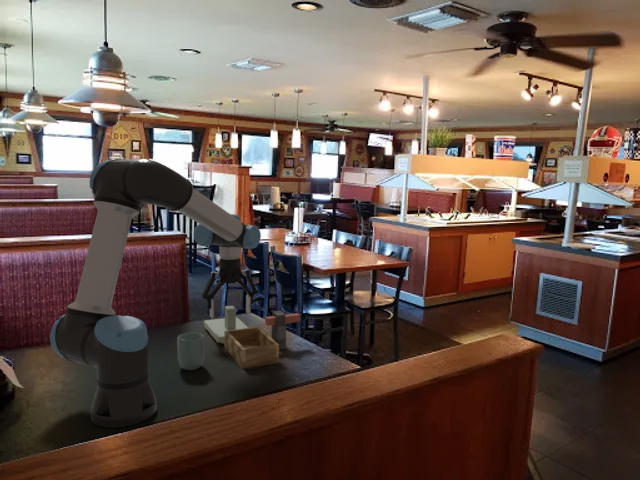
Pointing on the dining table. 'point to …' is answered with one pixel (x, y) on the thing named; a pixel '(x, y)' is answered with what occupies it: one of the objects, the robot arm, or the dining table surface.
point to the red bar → (288, 319)
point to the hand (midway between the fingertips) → (230, 315)
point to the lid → (224, 324)
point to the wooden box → (257, 343)
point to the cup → (190, 350)
